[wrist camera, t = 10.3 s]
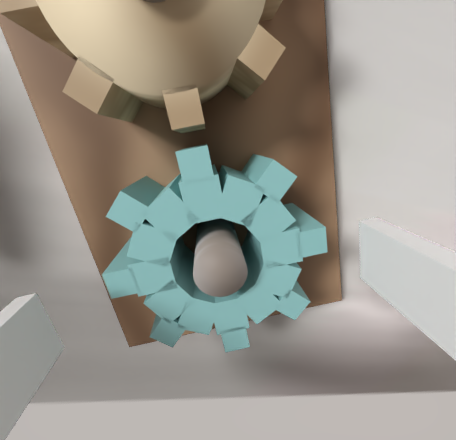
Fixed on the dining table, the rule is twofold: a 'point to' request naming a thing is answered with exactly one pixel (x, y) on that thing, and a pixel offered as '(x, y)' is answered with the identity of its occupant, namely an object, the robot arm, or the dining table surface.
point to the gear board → (181, 116)
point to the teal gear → (184, 258)
